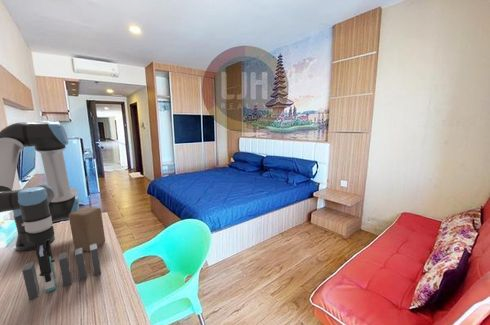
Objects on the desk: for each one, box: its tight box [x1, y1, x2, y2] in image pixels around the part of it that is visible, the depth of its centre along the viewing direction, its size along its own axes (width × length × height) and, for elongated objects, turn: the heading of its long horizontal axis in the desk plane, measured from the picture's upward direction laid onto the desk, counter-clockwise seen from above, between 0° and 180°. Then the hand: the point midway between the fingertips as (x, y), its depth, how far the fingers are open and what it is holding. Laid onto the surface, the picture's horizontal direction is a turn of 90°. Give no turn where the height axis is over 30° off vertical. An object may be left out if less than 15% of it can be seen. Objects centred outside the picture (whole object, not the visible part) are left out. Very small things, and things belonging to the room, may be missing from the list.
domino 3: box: [58, 251, 73, 288], centre depth 88 cm, size 5×2×12 cm, turn 38°
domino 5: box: [90, 244, 102, 277], centre depth 94 cm, size 5×2×12 cm, turn 38°
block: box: [68, 206, 106, 253], centre depth 112 cm, size 10×10×20 cm
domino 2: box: [45, 256, 57, 293], centre depth 85 cm, size 5×2×12 cm, turn 38°
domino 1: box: [22, 261, 40, 301], centre depth 82 cm, size 5×2×12 cm, turn 38°
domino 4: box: [74, 248, 88, 282], centre depth 91 cm, size 5×2×12 cm, turn 38°
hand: (50, 283), depth 85 cm, fingers closed on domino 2, 5 cm apart
